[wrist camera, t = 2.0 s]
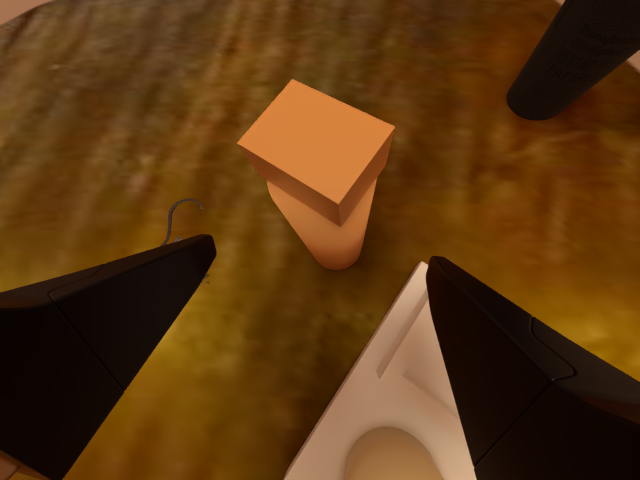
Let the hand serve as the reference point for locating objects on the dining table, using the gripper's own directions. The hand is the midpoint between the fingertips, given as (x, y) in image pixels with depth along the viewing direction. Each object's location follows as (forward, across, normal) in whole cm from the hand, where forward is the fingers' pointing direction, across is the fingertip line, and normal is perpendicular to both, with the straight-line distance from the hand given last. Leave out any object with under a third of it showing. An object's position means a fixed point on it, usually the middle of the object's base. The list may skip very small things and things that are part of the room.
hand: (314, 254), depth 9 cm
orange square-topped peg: (+10, 0, +6) cm, 11 cm away
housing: (+2, -7, +14) cm, 16 cm away
